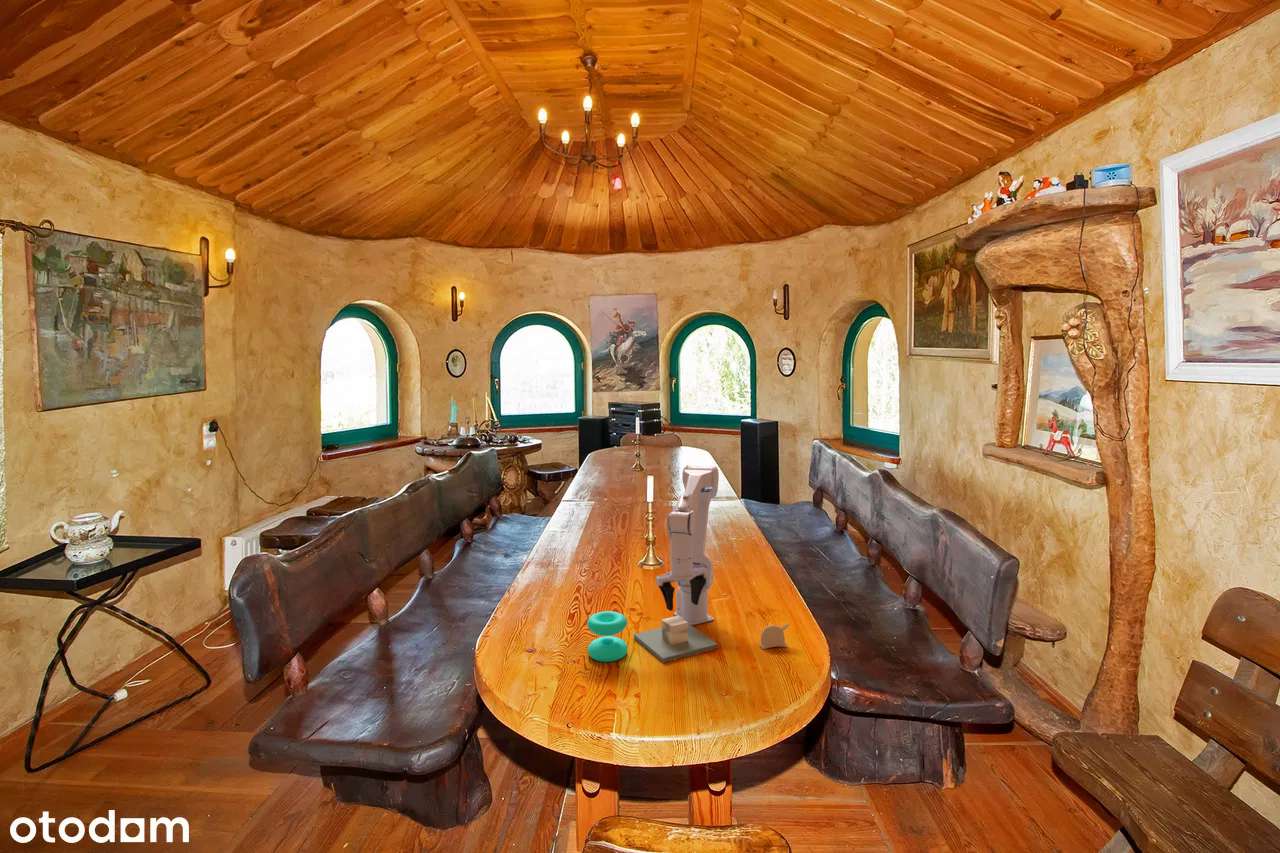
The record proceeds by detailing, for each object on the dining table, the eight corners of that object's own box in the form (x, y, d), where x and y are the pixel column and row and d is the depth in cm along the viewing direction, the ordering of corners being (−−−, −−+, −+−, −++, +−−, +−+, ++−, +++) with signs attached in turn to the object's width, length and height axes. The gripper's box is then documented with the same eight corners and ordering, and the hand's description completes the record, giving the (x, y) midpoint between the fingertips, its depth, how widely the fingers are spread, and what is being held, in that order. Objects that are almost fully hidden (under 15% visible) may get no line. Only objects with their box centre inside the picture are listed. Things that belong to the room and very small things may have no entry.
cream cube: (661, 637, 178) (661, 619, 177) (678, 633, 180) (678, 615, 179) (671, 644, 173) (671, 626, 173) (688, 640, 176) (687, 622, 175)
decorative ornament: (757, 642, 176) (756, 623, 176) (787, 640, 177) (787, 620, 177) (761, 649, 172) (761, 629, 172) (793, 647, 173) (793, 627, 173)
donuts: (634, 617, 170) (602, 628, 163) (635, 655, 171) (604, 667, 164) (610, 606, 177) (579, 616, 171) (611, 642, 178) (580, 654, 172)
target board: (634, 638, 180) (634, 634, 180) (685, 625, 188) (685, 621, 187) (663, 663, 166) (663, 658, 166) (717, 648, 173) (717, 644, 173)
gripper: (664, 565, 169) (665, 617, 171) (713, 556, 175) (713, 606, 177) (651, 558, 175) (652, 607, 177) (699, 549, 182) (699, 597, 183)
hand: (682, 606), depth 178 cm, fingers open, 7 cm apart
